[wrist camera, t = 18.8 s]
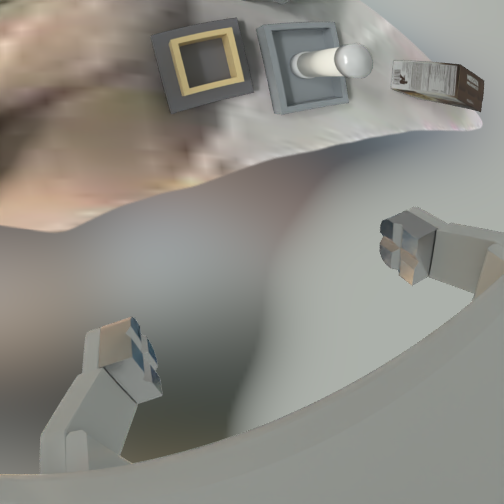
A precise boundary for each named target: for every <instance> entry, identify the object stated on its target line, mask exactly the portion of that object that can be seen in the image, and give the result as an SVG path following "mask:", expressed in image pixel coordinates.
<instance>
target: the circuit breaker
mask: <svg viewBox="0 0 504 504" xmlns="http://www.w3.org/2000/svg"><path fill="white" fill-rule="evenodd" d="M243 1H246V0H243ZM272 1H275V2H277V3H280V4H284V3H286V2H288V1H290V0H272Z"/></svg>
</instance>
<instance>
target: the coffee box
mask: <svg viewBox="0 0 504 504" xmlns="http://www.w3.org/2000/svg"><path fill="white" fill-rule="evenodd" d="M391 89H393V90H396V91H398V92H401V93H404V94H407V95H410V96H412V97H415V98H418V99H421V100H428V101H433V102H439V103H444V104H449V105H453V106H458V107H463V108H467V109H471V110H475V111H479V112H481V108H482V101H483V94H484V80H482V79H481V78H480V77H478V76H477V75H475V74H474V73H472V72H471V71H469V70H468V69H466V68H465V67H463V66H462V65H459V64H450V63H439V62H424V61H393V72H392V82H391Z"/></svg>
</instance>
